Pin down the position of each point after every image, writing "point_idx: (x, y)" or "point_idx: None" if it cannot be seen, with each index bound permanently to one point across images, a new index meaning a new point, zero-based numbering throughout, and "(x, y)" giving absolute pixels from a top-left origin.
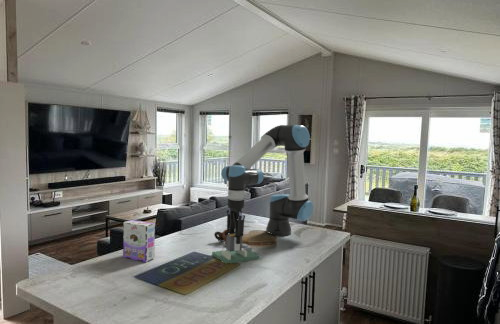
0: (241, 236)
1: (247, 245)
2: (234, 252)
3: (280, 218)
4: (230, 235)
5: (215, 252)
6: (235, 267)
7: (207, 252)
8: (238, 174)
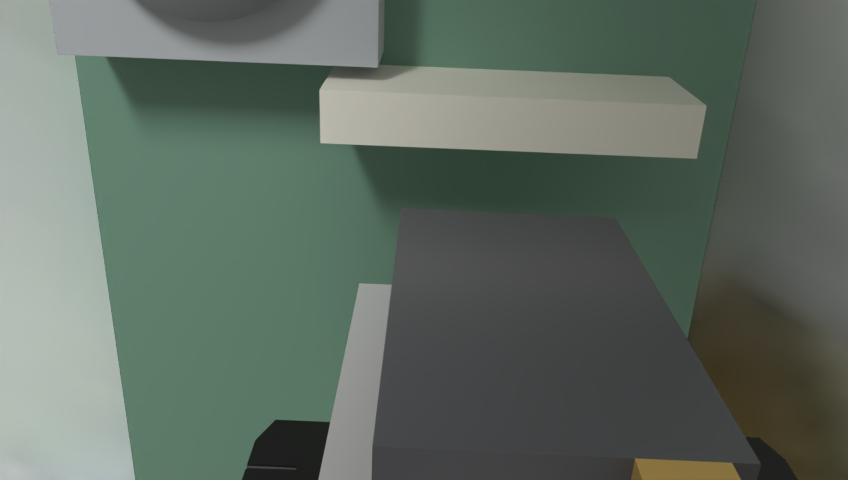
0: (736, 462)
1: None
2: (314, 170)
3: None
4: None
5: (176, 458)
6: (835, 420)
7: (27, 476)
8: None
